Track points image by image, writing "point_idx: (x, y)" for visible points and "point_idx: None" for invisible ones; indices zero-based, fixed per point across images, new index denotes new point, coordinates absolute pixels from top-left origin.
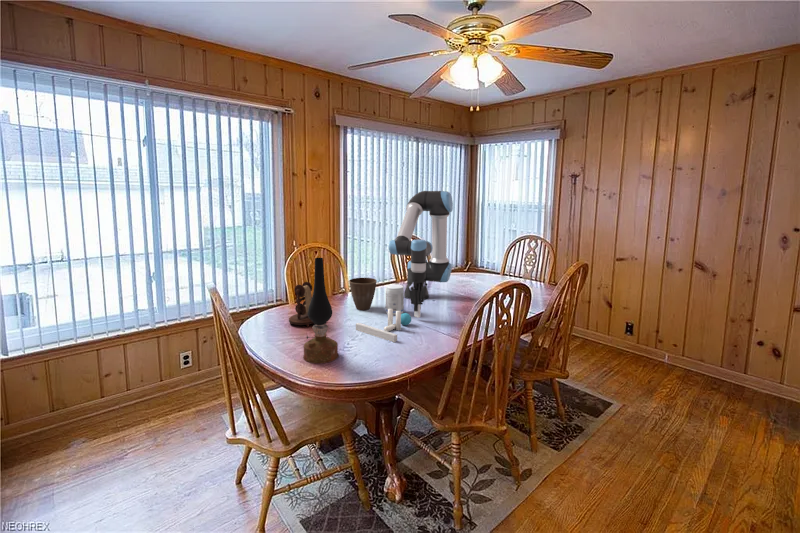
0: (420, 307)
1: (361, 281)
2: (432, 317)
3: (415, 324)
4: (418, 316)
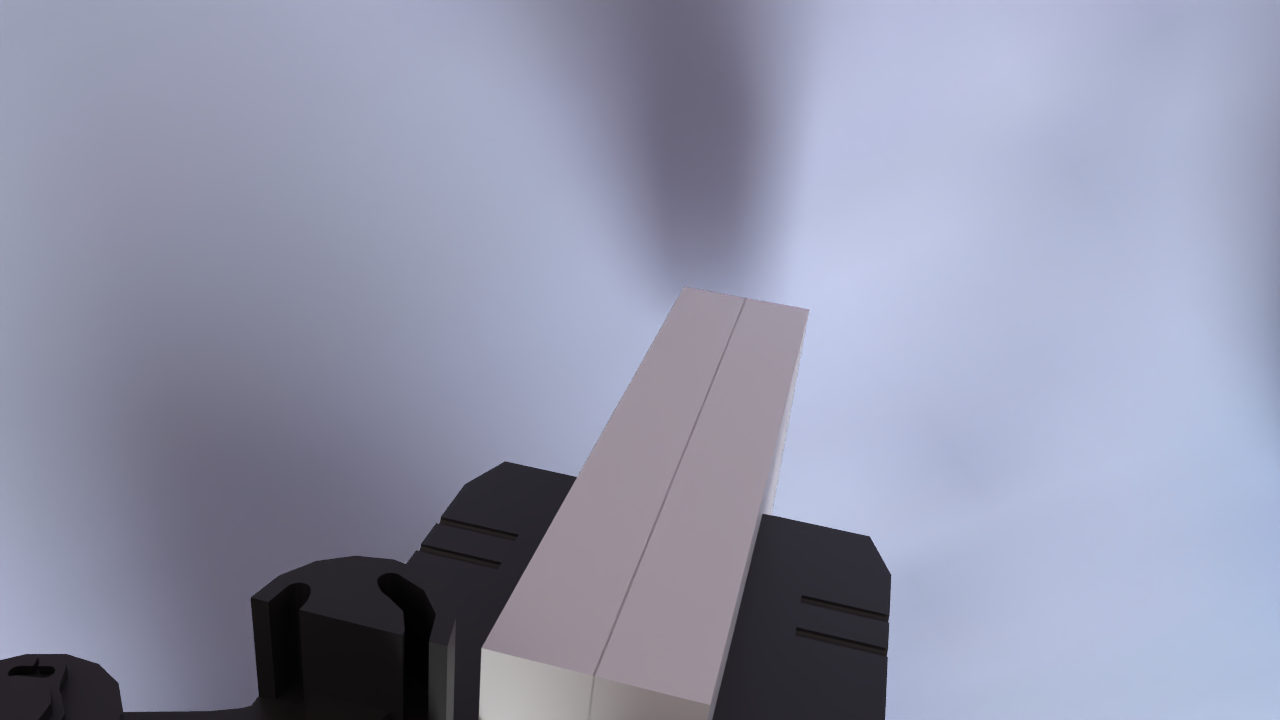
0: (455, 542)
1: None
2: (119, 47)
3: (1262, 164)
4: (796, 330)
